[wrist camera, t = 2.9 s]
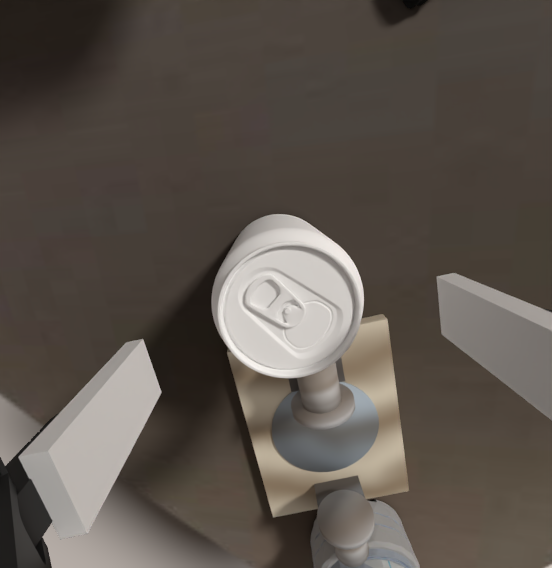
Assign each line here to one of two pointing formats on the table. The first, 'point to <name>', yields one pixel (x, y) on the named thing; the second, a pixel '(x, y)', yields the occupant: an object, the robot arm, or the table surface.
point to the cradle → (330, 438)
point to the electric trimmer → (413, 2)
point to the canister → (371, 543)
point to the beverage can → (287, 298)
